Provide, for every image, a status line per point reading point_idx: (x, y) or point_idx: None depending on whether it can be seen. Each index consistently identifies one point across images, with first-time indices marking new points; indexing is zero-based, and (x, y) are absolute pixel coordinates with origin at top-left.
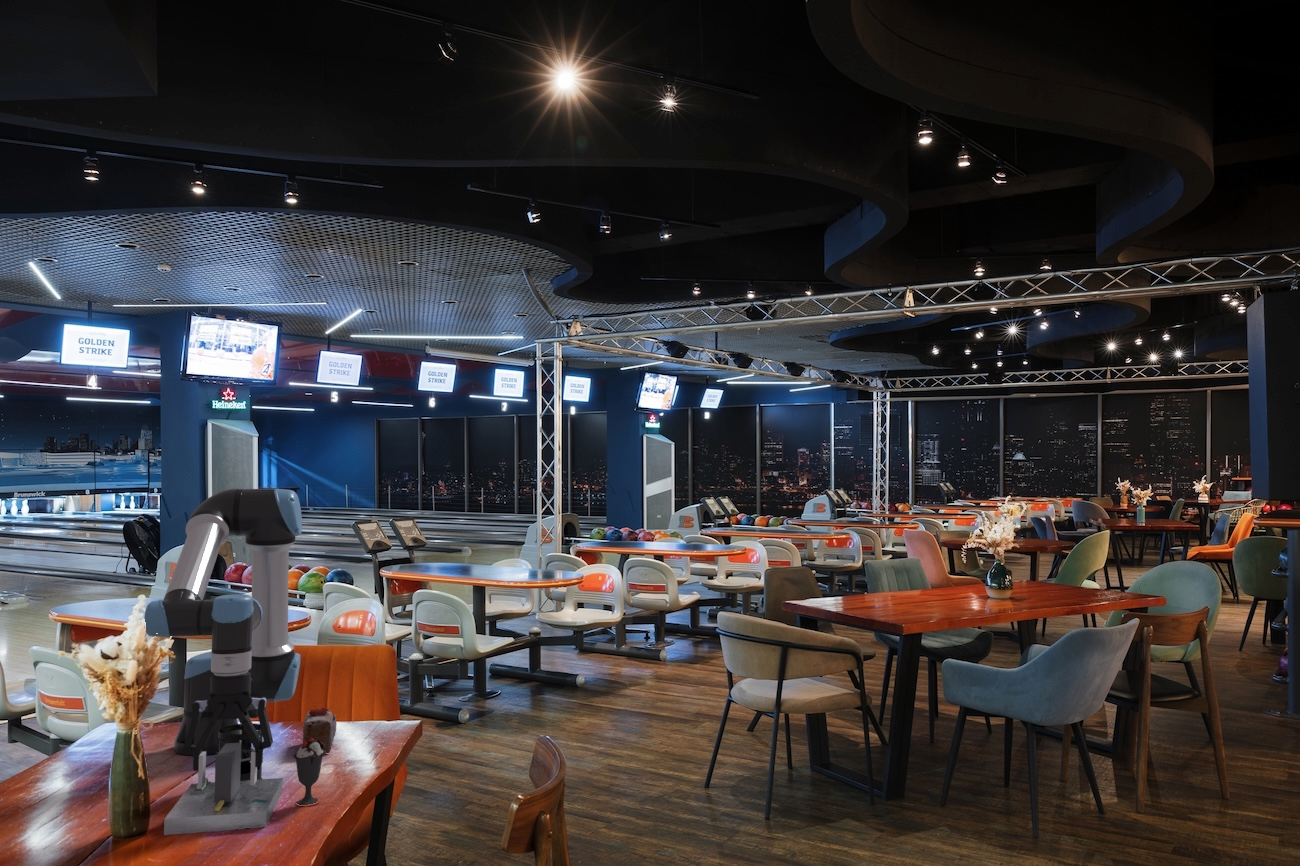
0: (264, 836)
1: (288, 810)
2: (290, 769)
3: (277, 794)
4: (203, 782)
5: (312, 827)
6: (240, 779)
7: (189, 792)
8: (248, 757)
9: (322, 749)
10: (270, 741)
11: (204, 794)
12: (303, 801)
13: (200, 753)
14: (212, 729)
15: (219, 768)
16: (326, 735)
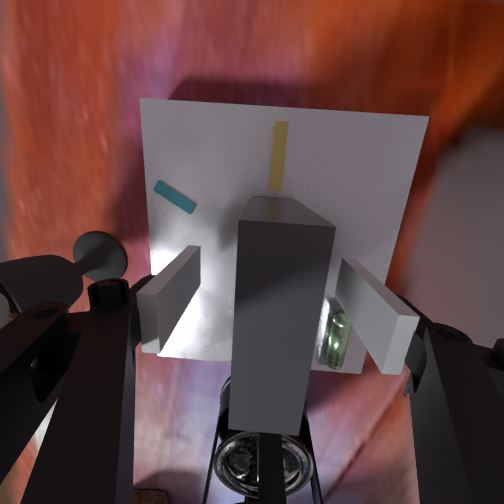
0: (149, 36)
1: (132, 221)
2: (180, 442)
3: None
4: (342, 278)
5: (41, 75)
6: None
7: None
8: (237, 442)
9: (133, 501)
10: (10, 322)
11: (326, 294)
12: (102, 250)
13: (412, 343)
14: (461, 491)
15: (299, 213)
16: None
